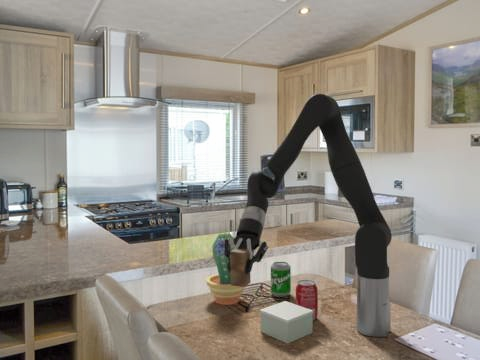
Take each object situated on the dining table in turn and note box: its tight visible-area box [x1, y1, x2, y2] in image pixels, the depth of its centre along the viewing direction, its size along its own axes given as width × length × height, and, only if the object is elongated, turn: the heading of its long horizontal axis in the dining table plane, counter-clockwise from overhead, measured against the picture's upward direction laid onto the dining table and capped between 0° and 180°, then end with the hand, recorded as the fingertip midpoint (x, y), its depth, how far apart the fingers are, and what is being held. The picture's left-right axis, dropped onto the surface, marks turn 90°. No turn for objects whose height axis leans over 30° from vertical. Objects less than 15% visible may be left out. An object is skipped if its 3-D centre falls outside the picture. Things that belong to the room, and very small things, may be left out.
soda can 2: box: [295, 279, 319, 322], centre depth 140 cm, size 7×7×12 cm
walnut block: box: [230, 249, 251, 288], centre depth 126 cm, size 4×4×10 cm
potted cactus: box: [205, 232, 245, 306], centre depth 157 cm, size 15×15×25 cm
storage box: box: [259, 300, 313, 344], centre depth 130 cm, size 11×11×7 cm
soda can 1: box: [270, 261, 292, 298], centre depth 164 cm, size 8×8×12 cm
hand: (238, 271), depth 125 cm, fingers closed on walnut block, 4 cm apart
